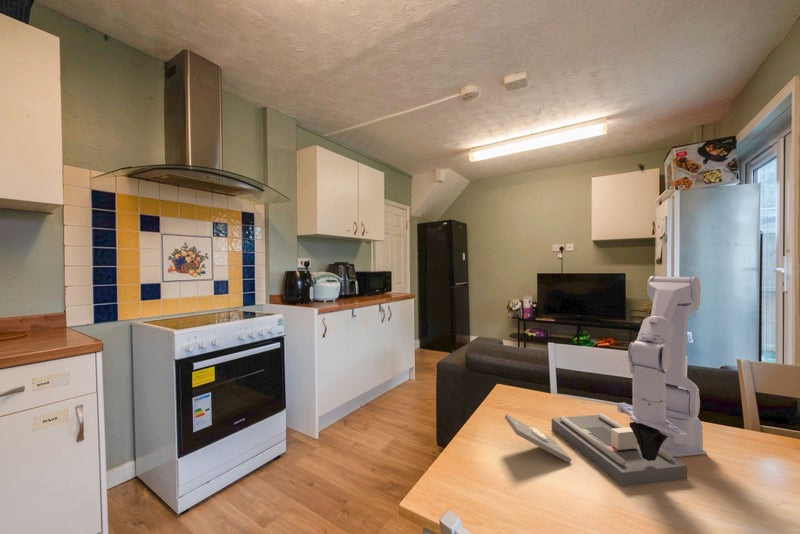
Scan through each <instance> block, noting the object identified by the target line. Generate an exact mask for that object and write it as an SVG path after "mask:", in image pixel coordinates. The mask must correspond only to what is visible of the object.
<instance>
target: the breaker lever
mask: <svg viewBox="0 0 800 534" xmlns="http://www.w3.org/2000/svg"><path fill="white" fill-rule="evenodd" d="M624 427H625V428H613V429H611V445H612V446H613V447H615V448H616V449H618V450H623V449H633V448H637V439H636V436H635V434H634V432H633V431H632V429H631V428H630V426H628V427H626V426H624Z"/></svg>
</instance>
